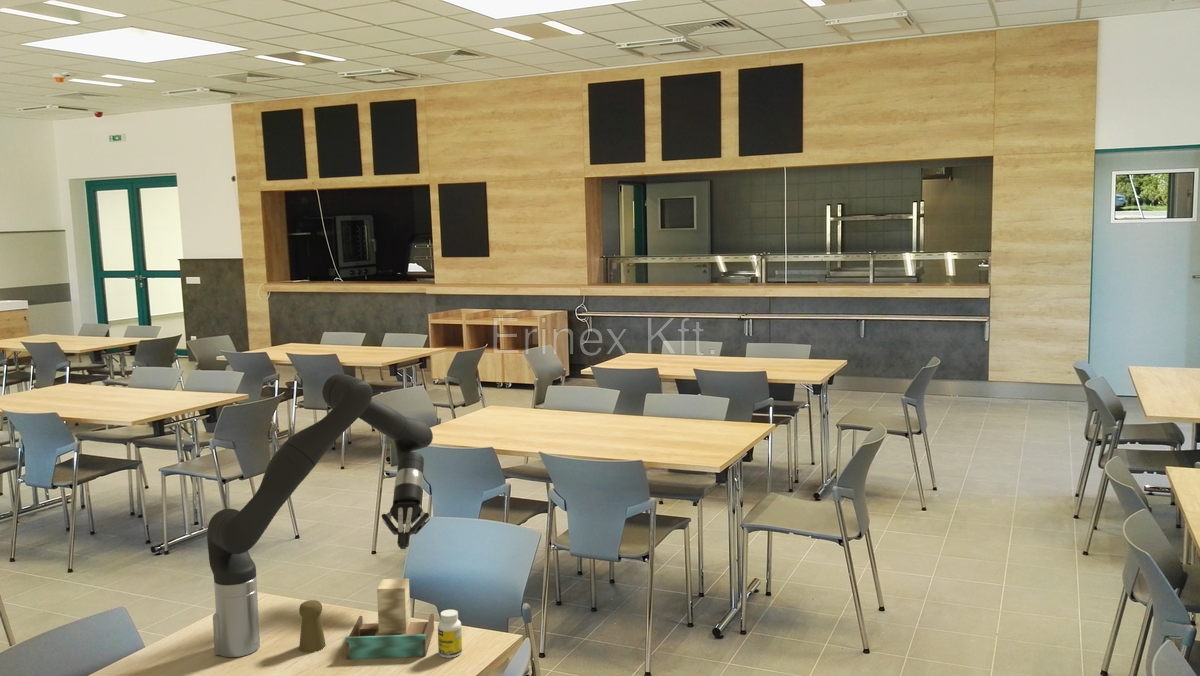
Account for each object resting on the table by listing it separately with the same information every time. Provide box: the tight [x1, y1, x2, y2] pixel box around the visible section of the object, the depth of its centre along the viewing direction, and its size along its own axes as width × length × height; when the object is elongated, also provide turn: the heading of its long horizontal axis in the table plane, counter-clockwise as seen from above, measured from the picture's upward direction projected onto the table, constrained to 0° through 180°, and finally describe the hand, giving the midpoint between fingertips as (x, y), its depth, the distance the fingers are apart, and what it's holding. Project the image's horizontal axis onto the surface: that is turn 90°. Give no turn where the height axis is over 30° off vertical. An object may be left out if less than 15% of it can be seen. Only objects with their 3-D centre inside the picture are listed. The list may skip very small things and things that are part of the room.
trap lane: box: [345, 613, 435, 660], centre depth 222 cm, size 18×15×5 cm
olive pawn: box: [298, 599, 327, 653], centre depth 221 cm, size 6×6×11 cm
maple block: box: [376, 578, 411, 634], centre depth 226 cm, size 6×6×11 cm
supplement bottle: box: [437, 609, 463, 659], centre depth 216 cm, size 5×5×10 cm
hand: (403, 547), depth 242 cm, fingers closed
